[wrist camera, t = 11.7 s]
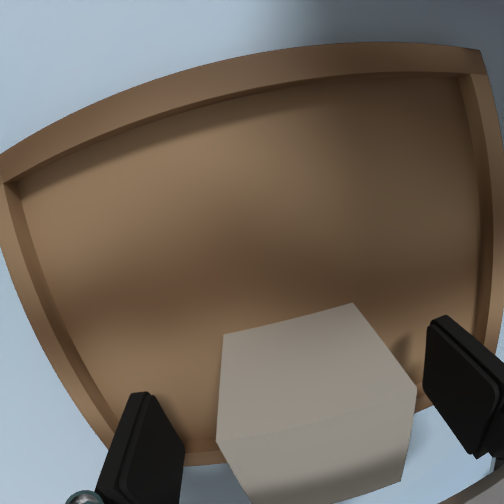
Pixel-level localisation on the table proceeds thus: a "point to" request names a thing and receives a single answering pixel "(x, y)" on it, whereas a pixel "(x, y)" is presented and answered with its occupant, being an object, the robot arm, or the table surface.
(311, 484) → the beige square block
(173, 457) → the robot arm
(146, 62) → the table surface
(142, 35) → the table surface
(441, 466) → the table surface
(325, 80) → the tray
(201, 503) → the table surface
